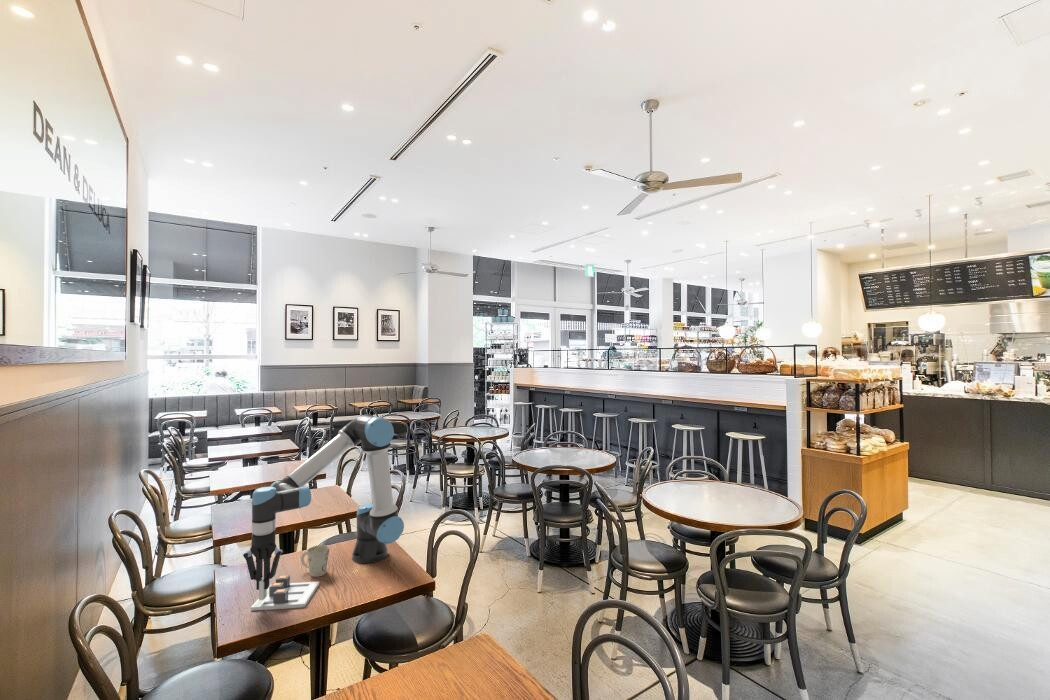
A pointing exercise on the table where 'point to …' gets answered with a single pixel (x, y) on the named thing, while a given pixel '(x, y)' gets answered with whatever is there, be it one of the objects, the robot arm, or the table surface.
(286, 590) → the block
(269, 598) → the panel
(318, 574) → the mug
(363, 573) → the table surface
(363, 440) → the robot arm
